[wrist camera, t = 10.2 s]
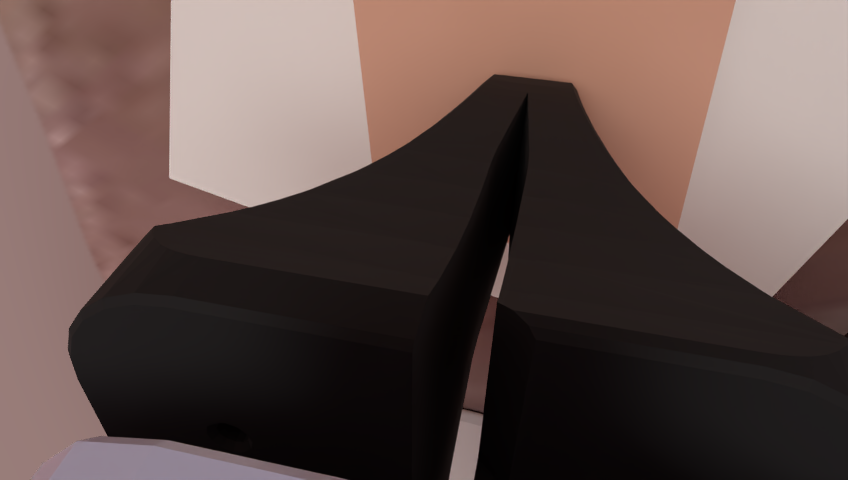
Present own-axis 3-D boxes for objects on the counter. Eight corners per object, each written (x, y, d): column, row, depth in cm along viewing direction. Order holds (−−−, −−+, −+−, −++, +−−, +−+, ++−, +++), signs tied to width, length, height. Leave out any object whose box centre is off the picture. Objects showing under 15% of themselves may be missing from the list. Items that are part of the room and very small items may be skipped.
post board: (1354, -364, 10) (1902, -407, 6) (697, 348, 22) (716, 501, 18) (214, -811, 9) (-95, -1202, 5) (184, 161, 21) (82, 272, 17)
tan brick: (715, -126, 12) (751, -63, 9) (658, 147, 15) (669, 259, 12) (409, -124, 13) (345, -67, 10) (422, 130, 16) (379, 229, 13)
